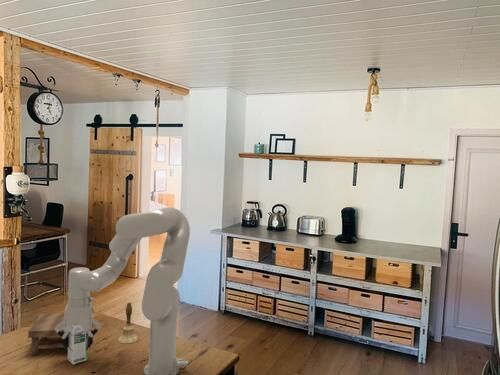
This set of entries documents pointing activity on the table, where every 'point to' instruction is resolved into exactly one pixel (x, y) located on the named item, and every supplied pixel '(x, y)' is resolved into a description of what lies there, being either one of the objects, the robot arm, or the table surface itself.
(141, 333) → the table surface
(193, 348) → the table surface
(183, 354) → the table surface
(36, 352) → the tan broad flat fixture
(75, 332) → the syrup box
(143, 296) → the robot arm
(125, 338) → the hand bell
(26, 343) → the table surface
